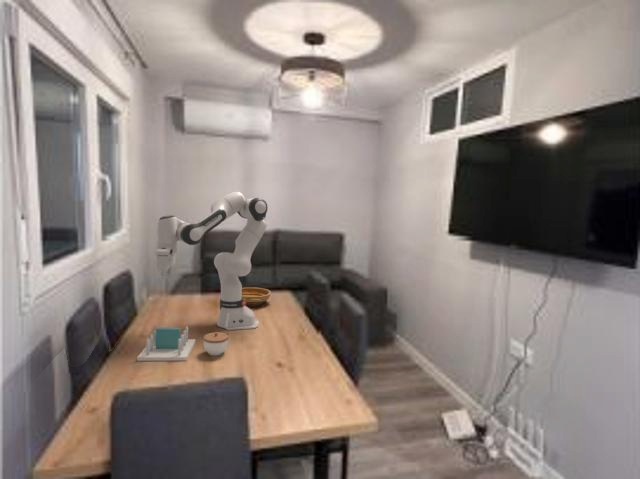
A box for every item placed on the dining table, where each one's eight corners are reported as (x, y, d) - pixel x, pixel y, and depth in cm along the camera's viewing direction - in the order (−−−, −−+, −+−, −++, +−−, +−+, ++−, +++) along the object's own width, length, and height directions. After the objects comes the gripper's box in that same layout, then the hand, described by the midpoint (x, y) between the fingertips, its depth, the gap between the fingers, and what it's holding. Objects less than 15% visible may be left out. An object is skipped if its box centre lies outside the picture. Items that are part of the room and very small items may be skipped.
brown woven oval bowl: (231, 298, 263) (231, 286, 262) (266, 297, 270) (267, 285, 269) (235, 311, 235) (235, 298, 234) (274, 309, 242) (274, 297, 241)
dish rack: (195, 342, 184) (195, 325, 183) (186, 360, 165) (186, 341, 164) (151, 342, 181) (151, 324, 180) (137, 360, 162) (137, 341, 161)
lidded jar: (205, 359, 167) (206, 338, 166) (201, 350, 176) (201, 330, 175) (230, 355, 172) (231, 335, 171) (224, 346, 181) (225, 327, 180)
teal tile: (180, 346, 175) (180, 327, 174) (179, 348, 172) (179, 329, 171) (157, 346, 173) (157, 327, 172) (155, 348, 171) (155, 329, 170)
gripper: (165, 245, 198) (165, 272, 199) (154, 251, 177) (154, 281, 179) (178, 246, 198) (178, 272, 200) (168, 252, 178) (168, 281, 180)
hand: (166, 276), depth 189 cm, fingers open, 8 cm apart
